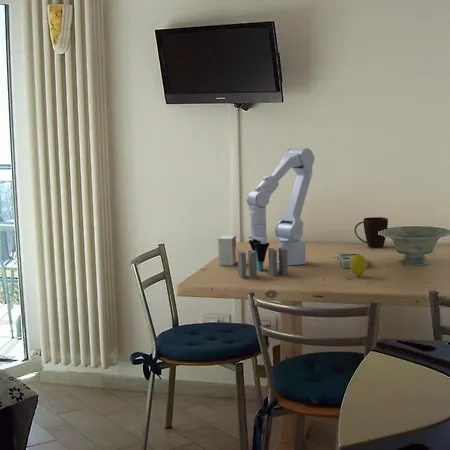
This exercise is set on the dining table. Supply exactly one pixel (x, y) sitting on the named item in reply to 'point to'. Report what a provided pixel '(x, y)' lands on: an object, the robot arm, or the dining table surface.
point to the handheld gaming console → (347, 259)
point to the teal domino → (259, 263)
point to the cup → (374, 231)
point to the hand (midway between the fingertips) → (259, 260)
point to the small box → (227, 250)
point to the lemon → (358, 265)
